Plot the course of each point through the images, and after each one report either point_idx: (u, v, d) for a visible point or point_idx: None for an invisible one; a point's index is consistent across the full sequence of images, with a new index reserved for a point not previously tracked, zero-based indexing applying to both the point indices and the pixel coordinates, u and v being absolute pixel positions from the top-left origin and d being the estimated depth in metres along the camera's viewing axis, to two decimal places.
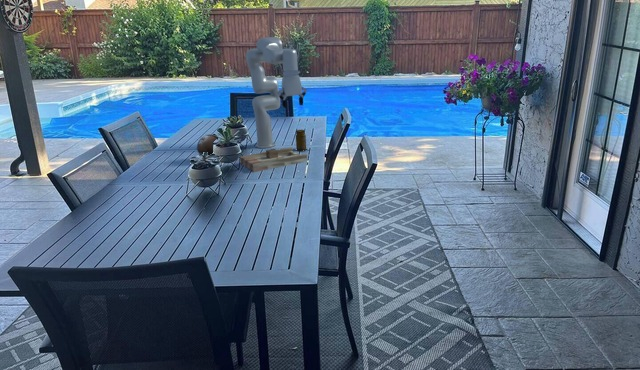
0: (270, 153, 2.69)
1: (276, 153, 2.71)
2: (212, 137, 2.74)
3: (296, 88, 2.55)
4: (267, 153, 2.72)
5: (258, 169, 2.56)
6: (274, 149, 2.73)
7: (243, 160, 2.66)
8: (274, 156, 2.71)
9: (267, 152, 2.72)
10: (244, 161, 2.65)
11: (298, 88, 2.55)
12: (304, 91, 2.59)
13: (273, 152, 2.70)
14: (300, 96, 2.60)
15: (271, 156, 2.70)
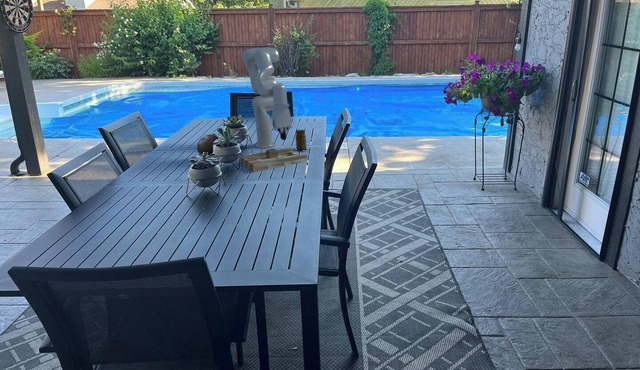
0: (270, 153, 2.69)
1: (276, 153, 2.71)
2: (212, 137, 2.74)
3: (286, 120, 2.68)
4: (267, 153, 2.72)
5: (258, 169, 2.56)
6: (274, 149, 2.73)
7: (243, 160, 2.66)
8: (274, 156, 2.71)
9: (267, 152, 2.72)
10: (244, 161, 2.65)
11: (288, 120, 2.69)
12: (288, 127, 2.72)
13: (273, 152, 2.70)
14: (283, 130, 2.72)
15: (271, 156, 2.70)
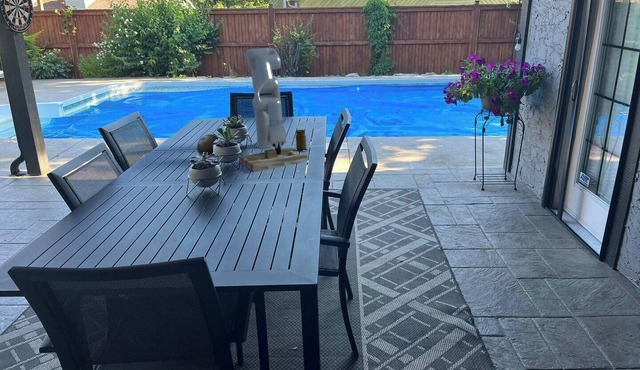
0: (268, 154, 2.69)
1: (275, 153, 2.71)
2: (212, 137, 2.74)
3: (281, 136, 2.70)
4: (266, 154, 2.71)
5: (258, 169, 2.56)
6: (273, 149, 2.73)
7: (243, 160, 2.66)
8: (273, 156, 2.71)
9: (266, 152, 2.71)
10: (244, 161, 2.65)
11: (283, 136, 2.70)
12: (283, 142, 2.73)
13: (272, 152, 2.70)
14: (278, 145, 2.73)
15: (270, 156, 2.70)
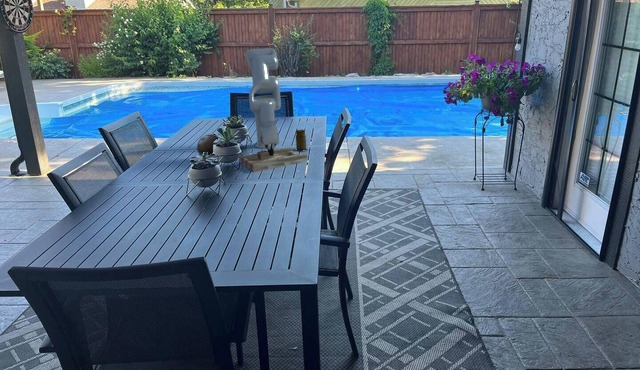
0: (261, 155, 2.67)
1: (267, 155, 2.69)
2: (212, 137, 2.74)
3: (273, 137, 2.68)
4: (258, 155, 2.69)
5: (258, 169, 2.56)
6: (265, 151, 2.71)
7: (243, 160, 2.66)
8: (266, 158, 2.68)
9: (258, 154, 2.69)
10: (244, 161, 2.65)
11: (275, 137, 2.68)
12: (276, 143, 2.71)
13: (264, 154, 2.67)
14: (271, 146, 2.71)
15: (262, 158, 2.67)
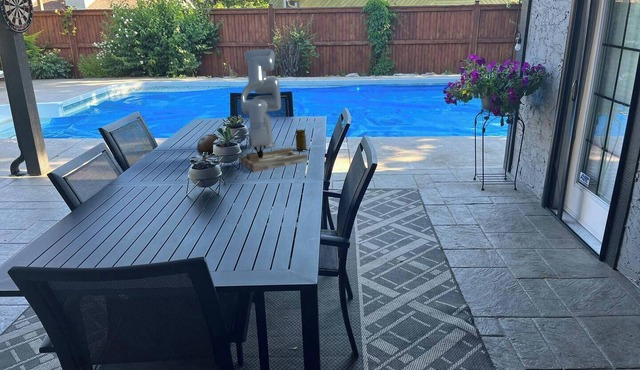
0: (250, 157, 2.64)
1: (256, 157, 2.65)
2: (212, 137, 2.74)
3: (262, 139, 2.65)
4: (247, 157, 2.66)
5: (258, 169, 2.56)
6: (254, 153, 2.68)
7: (243, 160, 2.66)
8: (255, 160, 2.65)
9: (247, 156, 2.66)
10: (244, 161, 2.65)
11: (264, 139, 2.65)
12: (265, 145, 2.68)
13: (253, 156, 2.64)
14: (260, 148, 2.68)
15: (251, 160, 2.64)
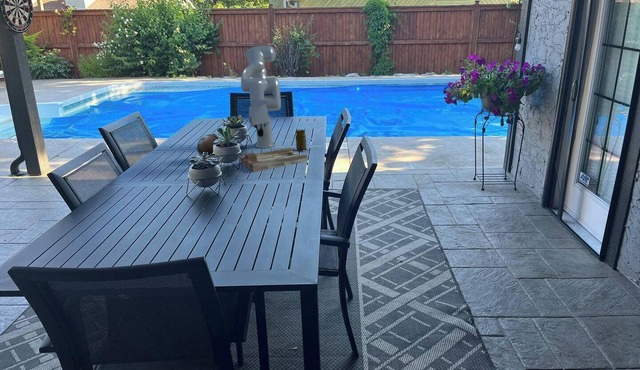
0: (248, 158, 2.63)
1: (255, 157, 2.65)
2: (212, 137, 2.74)
3: (263, 117, 2.62)
4: (246, 158, 2.66)
5: (258, 169, 2.56)
6: (253, 153, 2.67)
7: (243, 160, 2.66)
8: (253, 160, 2.65)
9: (246, 156, 2.65)
10: (244, 161, 2.65)
11: (265, 117, 2.62)
12: (265, 123, 2.65)
13: (252, 156, 2.64)
14: (261, 126, 2.65)
15: (250, 160, 2.64)
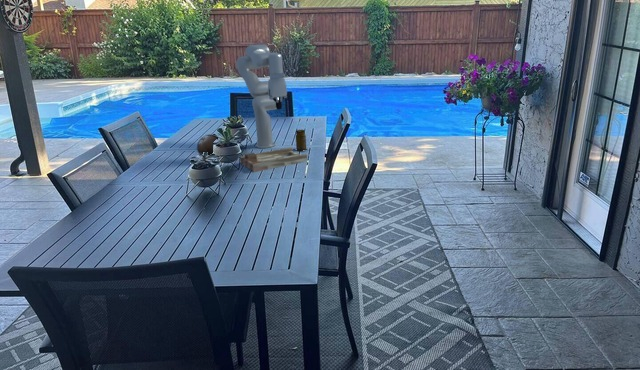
0: (248, 158, 2.63)
1: (255, 157, 2.65)
2: (212, 137, 2.74)
3: (281, 90, 2.71)
4: (246, 158, 2.66)
5: (258, 169, 2.56)
6: (253, 153, 2.67)
7: (243, 160, 2.66)
8: (253, 160, 2.65)
9: (246, 156, 2.65)
10: (244, 161, 2.65)
11: (283, 90, 2.72)
12: (284, 96, 2.75)
13: (252, 156, 2.64)
14: (279, 99, 2.75)
15: (250, 160, 2.64)
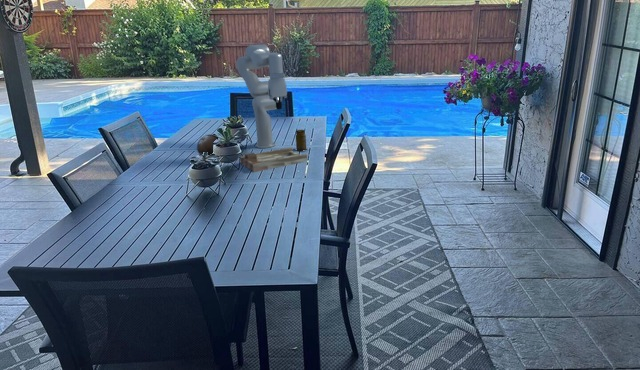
0: (248, 158, 2.63)
1: (255, 157, 2.65)
2: (212, 137, 2.74)
3: (281, 90, 2.71)
4: (246, 158, 2.66)
5: (258, 169, 2.56)
6: (253, 153, 2.67)
7: (243, 160, 2.66)
8: (253, 160, 2.65)
9: (246, 156, 2.65)
10: (244, 161, 2.65)
11: (283, 90, 2.72)
12: (284, 96, 2.75)
13: (252, 156, 2.64)
14: (279, 99, 2.75)
15: (250, 160, 2.64)
